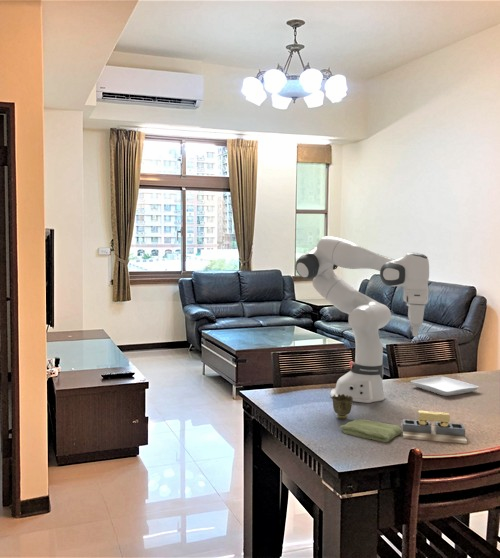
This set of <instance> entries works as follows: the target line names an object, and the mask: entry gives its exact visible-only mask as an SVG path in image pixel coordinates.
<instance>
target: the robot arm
mask: <svg viewBox="0 0 500 558" xmlns="http://www.w3.org/2000/svg"><path fill="white" fill-rule="evenodd" d="M429 261H430V260H429V258H428V256H426V255H425V254H422V253H419V252H410V251H409V252H407V253H406V254H405V255H403V256H402V257H398V258H396V259H394V258H391V257H389V256H385V255H382V254H380V253H376V252H373V251H372V250H370V249H367V248H366V247H363V246H361V245H358V244H357V243H355V242H353V241H350V240H347V239H344V238H341V237H336V236H331V235H325V236H322V237H321V238H320V239H319V240H318V242H317V245H316V246H315V247H313V248H312V249H311V248H310V250H308V251H307V252H306V253H305V254H302V255H301V256H299V258H297V260H296V261H295V270H296V273H297V274H298V275H299V276H300V278H302V279H303V280H312V286H313V288H314V289H315V290H316V292H318V294H319V295H321V297H322V298H324V300H325V301H327V302H328V303H330V304H331V305H332V306H333V307H335V308H336V309H338V310H339V311H340V312H342V313H345V314H347V315H348V325H349V327H350V328H351V329H352V331H353V337H354V341H355V344H354V345H355V357H354V361H353V360H352V361H350V362H349V363H348V364H349V371H348V372H346V373H345V374H344V375H342V376H340V377H339V378H338V379H337V381H336V385H335V388H332V389H331V391H330V393H329V396H330V397H331V398H332V396H334V395H335V396H337V397H338V394H340V395H342V394H344V395H345V396H347V395H348V397H349V396H352V398H353V401H352V402H357V403H358V402H359V403H366V404H370V403H374V402H381V401H384V400H385V399H386V395H385V391H384V385H383V378H384V363H383V358H384V357H383V353H384V350H383V349H384V347H383V343H382V342H381V339H380V335H379V334H380V333H379V330H380V329H382V328H384V327H386V326H387V325H388V323H389V322H390V321H391V318H392V312H391V310H390V308H389V307H388V306H387V305H386V304H383V303H381V302H378V301H377V300H375V299H373V298H372V297H370V296H368V295H366V294H364V293H362V292H360V291H359V290H357V289H355V288H354V287H353V286H352V285H350V284H349V283H348V282H346V281H344V280H343V279H342V278H341V277H339V276H338V275H337V274H336V273H335V271H334V270H337V269H338V267H340V268H343V269H348V270H360V269H361V270H363V269H364V270H365V269H367V270H368V269H370V270H375V271H379V275H380V276H379V277H380V280H381V282H382V283H383V284H384V285H386V286H389V287H403V292H402V293H403V298H402V301H403V302H405V303H406V306H407V307H408V312H407V318H408V320H409V322H410V332H411V333H412V336H413V337H415V338H417V337H418V336H419V330H420V326H422V325H423V322H424V314H425V306H426V305H427V304H428V303H429V291H430V289H429V285H428V284H429V283H428V282H429V280H430V262H429Z"/></svg>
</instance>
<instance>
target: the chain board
mask: <svg viewBox="0 0 500 558" xmlns="http://www.w3.org/2000/svg"><path fill="white" fill-rule="evenodd" d="M400 425H401V427H400V428H401V431H402V432H401V434H402V438H403V439H411V440H421V441H433V442H441V443H442V442H444V443H456V444H465V445H467V444H468V440H467V438H466V436H465V437H462V436H451V435H439V434H436V432H435V429H434V425H435V424H434V425H432V424H431V434H428V433H417V432H405V431H403V429H402V422H401V424H400Z"/></svg>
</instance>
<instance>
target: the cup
mask: <svg viewBox="0 0 500 558" xmlns="http://www.w3.org/2000/svg"><path fill="white" fill-rule="evenodd" d="M331 398H332V409H333V411H334V413H335V414H336V417H337V418H338V419H340V420H346V419H347V418H348V415H350V413H351V411H352V407H353V402H354V401H353V398H352V396H349V397H348V395H347V396H345V395H344V394H342V395H340V394H338V397H337V396H335V395H334V396H332V397H331Z"/></svg>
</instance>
